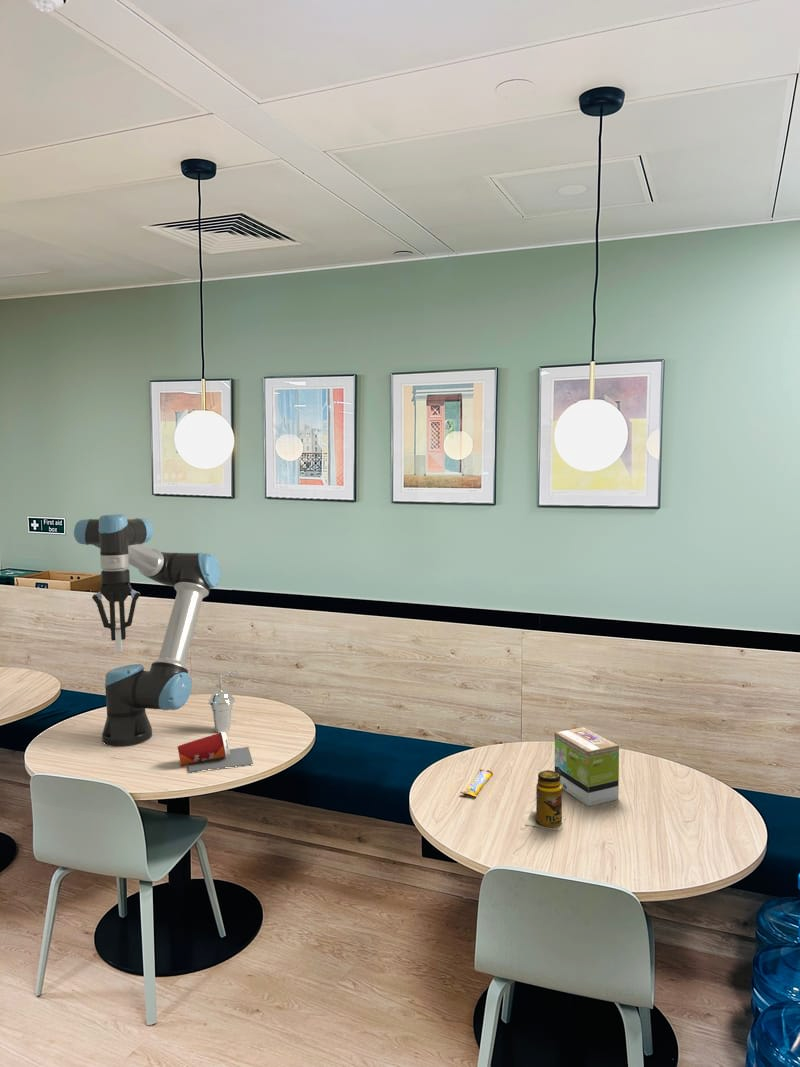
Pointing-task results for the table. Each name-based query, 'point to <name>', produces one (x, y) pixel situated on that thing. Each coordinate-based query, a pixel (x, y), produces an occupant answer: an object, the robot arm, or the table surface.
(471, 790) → the candy bar
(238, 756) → the mat
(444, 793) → the table surface
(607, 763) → the tea box
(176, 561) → the robot arm
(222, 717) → the cup with straw
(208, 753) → the paper cup
